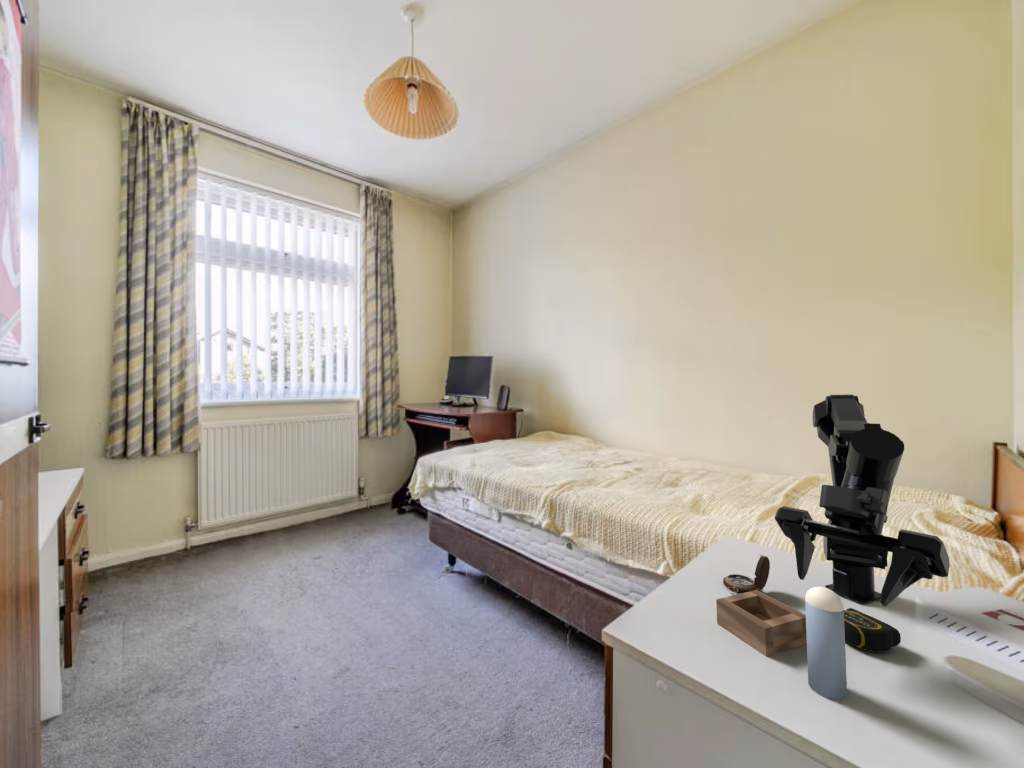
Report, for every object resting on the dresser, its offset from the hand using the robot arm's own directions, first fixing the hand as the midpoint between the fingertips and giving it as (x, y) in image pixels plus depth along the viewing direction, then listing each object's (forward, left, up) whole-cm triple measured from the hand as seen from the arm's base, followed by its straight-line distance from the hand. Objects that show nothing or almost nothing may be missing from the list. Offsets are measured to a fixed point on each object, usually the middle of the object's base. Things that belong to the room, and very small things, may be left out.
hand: (838, 590), depth 56 cm
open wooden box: (+2, -11, -11) cm, 16 cm away
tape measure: (-11, -4, -12) cm, 17 cm away
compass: (-8, -22, -12) cm, 26 cm away
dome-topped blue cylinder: (+5, +1, -11) cm, 12 cm away
